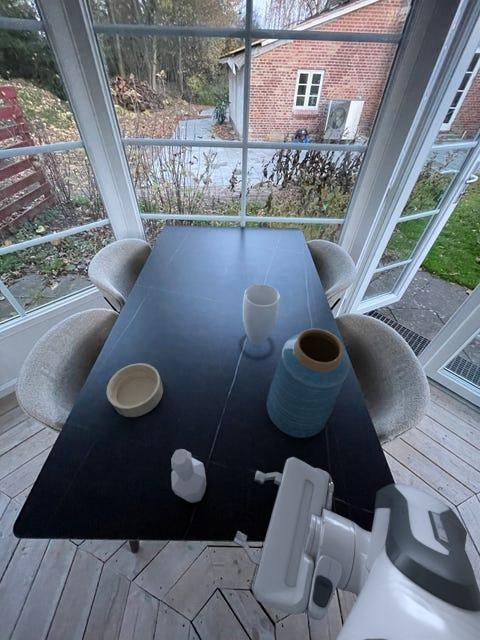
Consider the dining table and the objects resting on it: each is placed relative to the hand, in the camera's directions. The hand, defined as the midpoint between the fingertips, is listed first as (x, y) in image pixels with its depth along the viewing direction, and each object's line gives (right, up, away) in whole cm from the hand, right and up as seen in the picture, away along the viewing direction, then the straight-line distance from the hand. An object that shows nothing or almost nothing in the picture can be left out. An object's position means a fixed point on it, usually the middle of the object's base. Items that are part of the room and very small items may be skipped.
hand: (245, 503), depth 46 cm
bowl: (-29, +11, +27) cm, 41 cm away
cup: (+4, +23, +40) cm, 46 cm away
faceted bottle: (-11, -5, +12) cm, 17 cm away
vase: (+14, +8, +25) cm, 30 cm away
